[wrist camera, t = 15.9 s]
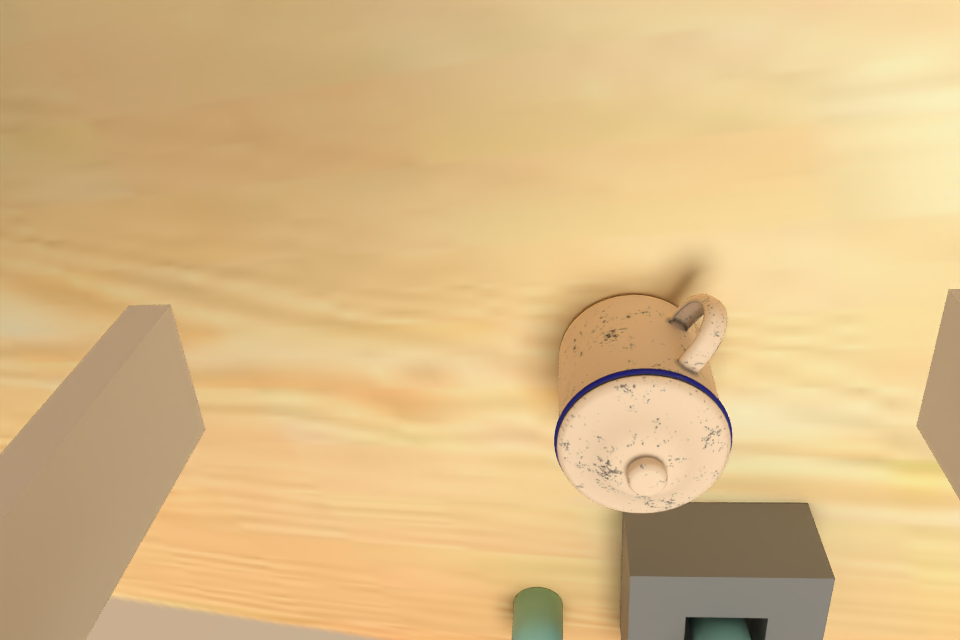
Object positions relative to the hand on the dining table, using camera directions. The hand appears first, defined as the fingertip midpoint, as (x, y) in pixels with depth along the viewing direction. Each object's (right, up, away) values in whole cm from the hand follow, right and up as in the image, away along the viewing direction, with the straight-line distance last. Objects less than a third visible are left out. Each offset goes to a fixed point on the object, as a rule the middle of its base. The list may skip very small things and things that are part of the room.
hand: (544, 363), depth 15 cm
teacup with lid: (+9, 0, +36) cm, 37 cm away
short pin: (+3, -20, +49) cm, 53 cm away
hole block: (+15, -17, +45) cm, 50 cm away
